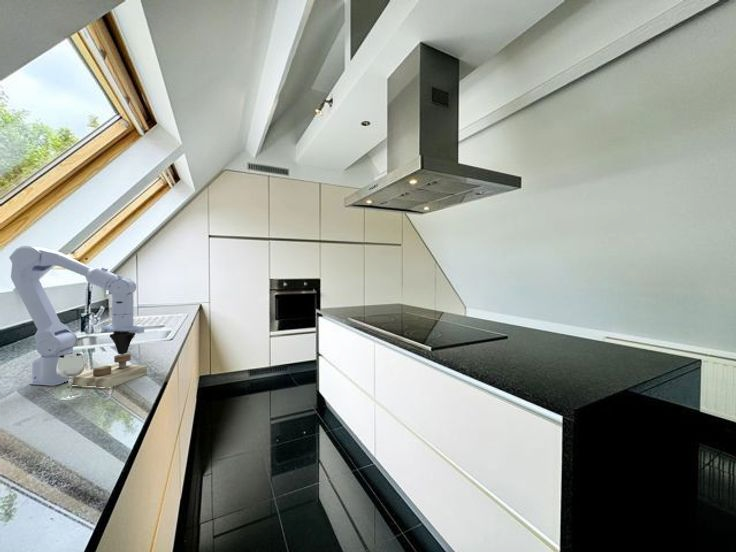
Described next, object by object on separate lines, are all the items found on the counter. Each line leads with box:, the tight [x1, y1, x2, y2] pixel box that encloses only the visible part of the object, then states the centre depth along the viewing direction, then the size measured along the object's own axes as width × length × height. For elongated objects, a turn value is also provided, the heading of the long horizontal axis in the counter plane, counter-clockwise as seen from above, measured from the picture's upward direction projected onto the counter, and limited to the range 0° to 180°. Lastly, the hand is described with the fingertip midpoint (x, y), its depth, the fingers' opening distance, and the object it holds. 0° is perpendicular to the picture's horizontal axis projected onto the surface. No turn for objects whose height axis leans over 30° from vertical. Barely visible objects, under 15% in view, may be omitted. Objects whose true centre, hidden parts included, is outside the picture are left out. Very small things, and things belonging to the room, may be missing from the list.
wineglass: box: [56, 352, 86, 398], centre depth 87 cm, size 6×6×12 cm
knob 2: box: [113, 352, 132, 369], centre depth 104 cm, size 4×4×5 cm
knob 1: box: [92, 364, 111, 376], centre depth 97 cm, size 4×4×5 cm
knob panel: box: [72, 363, 148, 389], centre depth 101 cm, size 14×14×3 cm
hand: (122, 353), depth 104 cm, fingers closed
